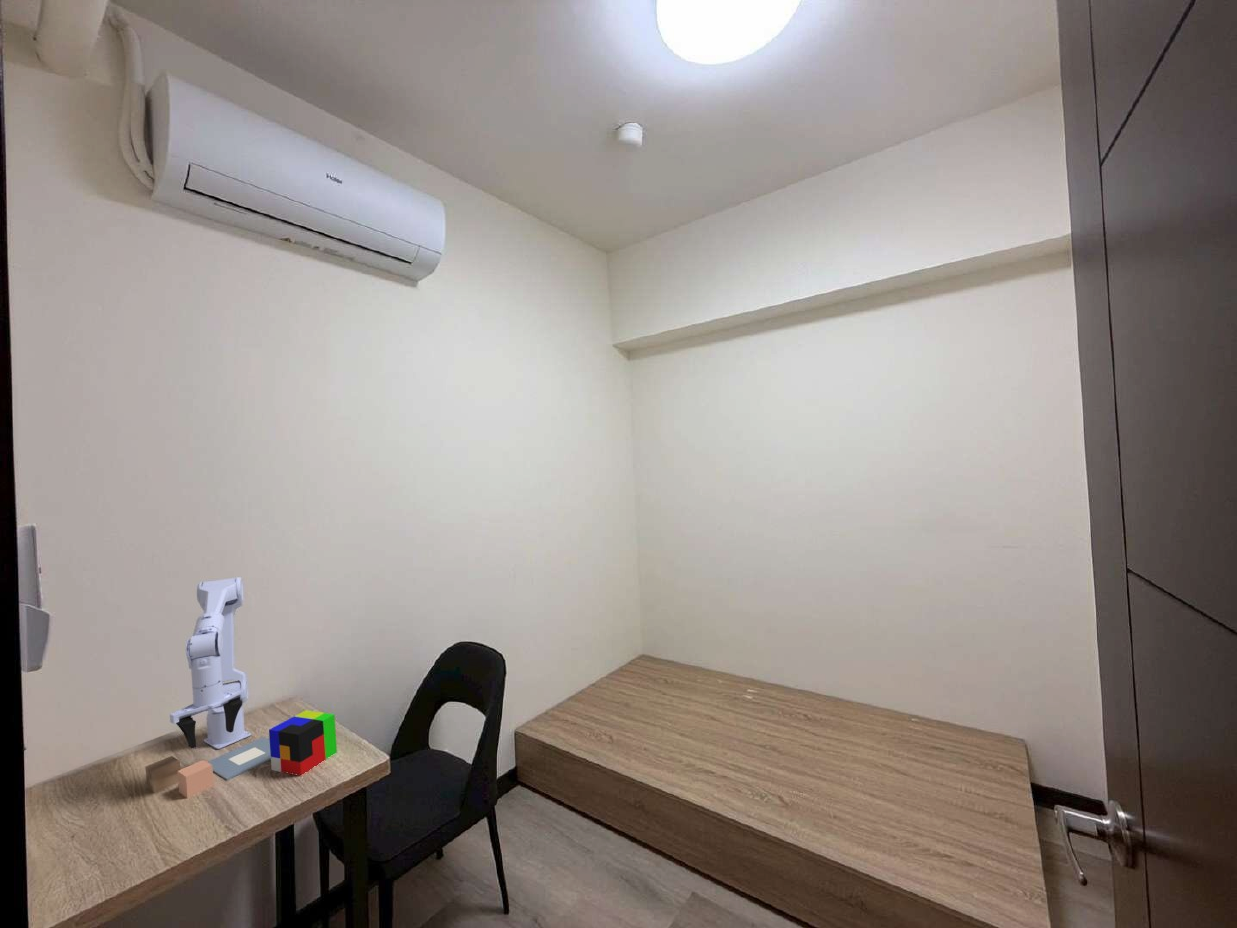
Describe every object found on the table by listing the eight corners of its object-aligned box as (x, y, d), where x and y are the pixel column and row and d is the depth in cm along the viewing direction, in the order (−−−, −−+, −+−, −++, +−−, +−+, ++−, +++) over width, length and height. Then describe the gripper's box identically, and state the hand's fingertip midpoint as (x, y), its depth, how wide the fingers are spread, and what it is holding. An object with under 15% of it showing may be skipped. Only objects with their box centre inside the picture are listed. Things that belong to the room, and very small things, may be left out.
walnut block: (146, 787, 123) (145, 766, 123) (173, 775, 127) (171, 755, 127) (154, 793, 120) (152, 772, 120) (181, 781, 124) (179, 760, 124)
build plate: (202, 765, 131) (202, 763, 131) (264, 738, 143) (264, 736, 143) (227, 780, 123) (227, 778, 123) (290, 750, 135) (289, 748, 135)
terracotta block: (178, 792, 120) (177, 770, 120) (205, 780, 124) (203, 759, 124) (187, 798, 117) (186, 776, 117) (213, 786, 122) (212, 764, 122)
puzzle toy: (271, 770, 127) (268, 729, 127) (308, 747, 136) (305, 710, 136) (301, 776, 123) (298, 734, 123) (337, 752, 133) (334, 714, 133)
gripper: (177, 699, 117) (181, 758, 117) (249, 674, 130) (253, 727, 130) (164, 693, 121) (168, 751, 121) (236, 669, 133) (239, 722, 133)
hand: (211, 738), depth 126 cm, fingers open, 7 cm apart
